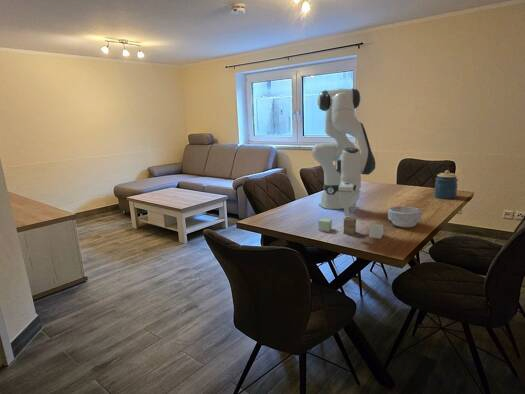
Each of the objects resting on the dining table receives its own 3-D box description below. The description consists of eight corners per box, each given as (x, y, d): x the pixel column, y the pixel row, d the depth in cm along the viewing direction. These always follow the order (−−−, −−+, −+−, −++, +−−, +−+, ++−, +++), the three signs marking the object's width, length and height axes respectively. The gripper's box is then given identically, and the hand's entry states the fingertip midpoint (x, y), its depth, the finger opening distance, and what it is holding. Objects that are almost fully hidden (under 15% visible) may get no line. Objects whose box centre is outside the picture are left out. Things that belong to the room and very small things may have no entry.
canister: (456, 200, 210) (458, 172, 206) (432, 198, 216) (435, 171, 212) (457, 195, 220) (459, 169, 216) (434, 194, 227) (436, 168, 223)
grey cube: (371, 233, 155) (371, 223, 154) (382, 235, 153) (383, 224, 152) (369, 237, 151) (369, 226, 150) (380, 238, 149) (381, 228, 148)
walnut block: (346, 230, 161) (346, 216, 159) (355, 232, 159) (356, 217, 157) (343, 233, 157) (343, 219, 155) (353, 234, 155) (353, 220, 153)
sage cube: (322, 227, 167) (322, 218, 166) (331, 228, 165) (331, 219, 163) (318, 230, 163) (318, 220, 162) (328, 231, 160) (328, 222, 159)
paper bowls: (393, 218, 177) (394, 204, 175) (424, 223, 167) (425, 208, 165) (383, 226, 165) (383, 210, 163) (415, 231, 156) (416, 215, 154)
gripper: (349, 180, 163) (349, 207, 166) (337, 187, 145) (336, 218, 148) (363, 180, 160) (362, 208, 163) (351, 188, 142) (351, 219, 145)
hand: (350, 213), depth 155 cm, fingers open, 8 cm apart
